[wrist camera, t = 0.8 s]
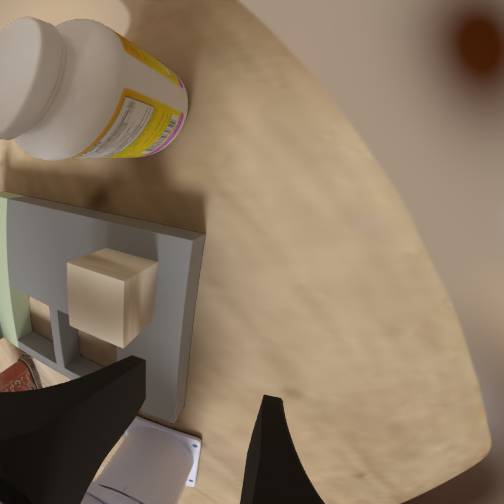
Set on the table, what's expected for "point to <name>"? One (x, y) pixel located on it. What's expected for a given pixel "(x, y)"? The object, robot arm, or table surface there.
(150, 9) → the table surface
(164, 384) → the grey divided tray
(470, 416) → the table surface
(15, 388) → the ornate red tin
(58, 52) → the supplement bottle
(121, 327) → the block
